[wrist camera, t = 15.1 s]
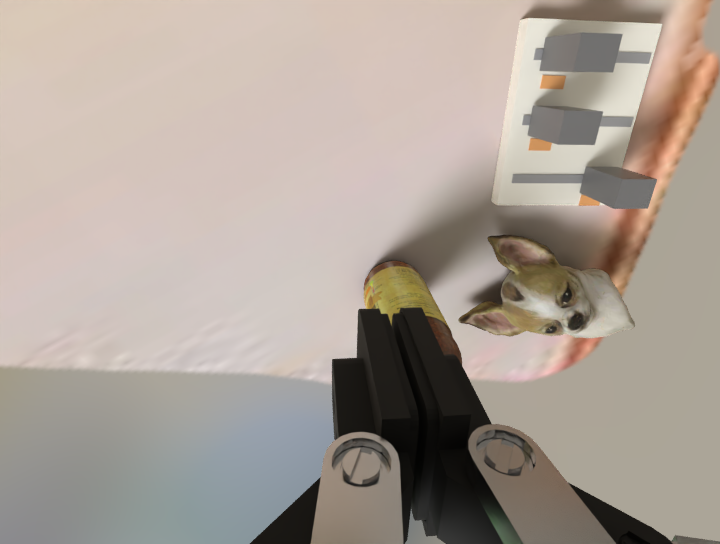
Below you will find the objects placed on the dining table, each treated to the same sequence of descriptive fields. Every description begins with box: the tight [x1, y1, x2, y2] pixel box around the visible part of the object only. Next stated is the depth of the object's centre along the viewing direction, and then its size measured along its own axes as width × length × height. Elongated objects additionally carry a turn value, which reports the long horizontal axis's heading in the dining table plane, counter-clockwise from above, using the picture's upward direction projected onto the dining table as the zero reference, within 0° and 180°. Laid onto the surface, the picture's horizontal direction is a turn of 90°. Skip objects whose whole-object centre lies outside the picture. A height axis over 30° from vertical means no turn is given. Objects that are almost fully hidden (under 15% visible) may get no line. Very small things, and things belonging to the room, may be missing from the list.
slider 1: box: [539, 32, 623, 73], centre depth 32 cm, size 2×3×5 cm
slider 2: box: [528, 106, 603, 145], centre depth 34 cm, size 2×3×5 cm
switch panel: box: [491, 18, 662, 206], centre depth 38 cm, size 15×11×2 cm
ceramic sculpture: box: [458, 235, 635, 338], centre depth 42 cm, size 11×9×15 cm
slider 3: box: [579, 166, 657, 209], centre depth 37 cm, size 2×3×5 cm
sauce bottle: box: [364, 261, 462, 365], centre depth 35 cm, size 6×6×20 cm
